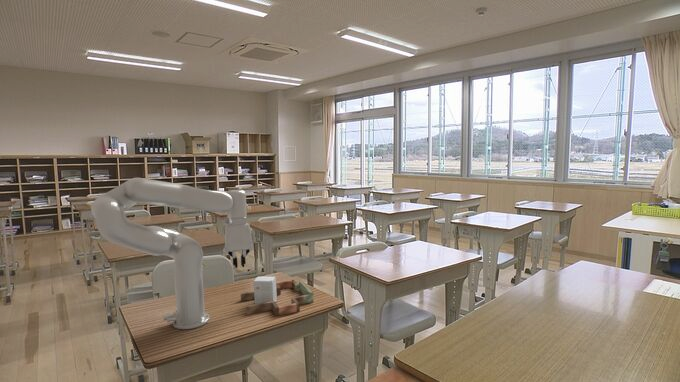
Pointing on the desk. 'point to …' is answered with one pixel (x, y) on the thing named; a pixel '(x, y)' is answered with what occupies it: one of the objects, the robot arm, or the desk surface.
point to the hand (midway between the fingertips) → (239, 266)
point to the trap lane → (279, 285)
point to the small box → (265, 289)
